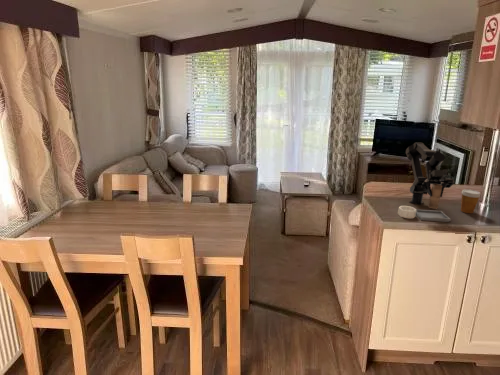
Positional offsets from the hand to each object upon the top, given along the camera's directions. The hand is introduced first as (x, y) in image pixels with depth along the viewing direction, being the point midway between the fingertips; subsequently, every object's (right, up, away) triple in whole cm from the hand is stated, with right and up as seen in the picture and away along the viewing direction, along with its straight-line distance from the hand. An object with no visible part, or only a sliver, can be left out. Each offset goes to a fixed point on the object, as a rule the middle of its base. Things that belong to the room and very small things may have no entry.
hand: (436, 196), depth 198 cm
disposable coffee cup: (+25, -9, +15) cm, 31 cm away
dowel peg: (0, -6, +3) cm, 7 cm away
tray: (0, -11, +5) cm, 12 cm away
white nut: (-14, -10, +5) cm, 18 cm away
